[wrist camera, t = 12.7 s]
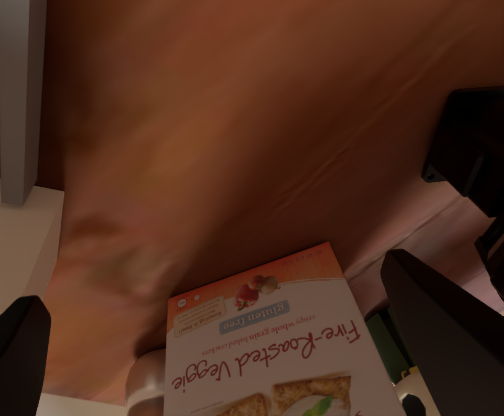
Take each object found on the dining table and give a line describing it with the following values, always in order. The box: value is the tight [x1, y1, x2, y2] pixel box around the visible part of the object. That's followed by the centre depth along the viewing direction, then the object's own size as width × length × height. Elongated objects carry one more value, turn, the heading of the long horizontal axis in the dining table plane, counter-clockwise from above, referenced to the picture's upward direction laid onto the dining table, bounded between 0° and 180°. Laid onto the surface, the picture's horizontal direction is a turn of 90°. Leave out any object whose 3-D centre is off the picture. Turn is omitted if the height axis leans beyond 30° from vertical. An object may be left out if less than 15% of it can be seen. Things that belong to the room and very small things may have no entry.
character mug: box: [365, 307, 440, 416], centre depth 32 cm, size 11×7×13 cm, turn 123°
